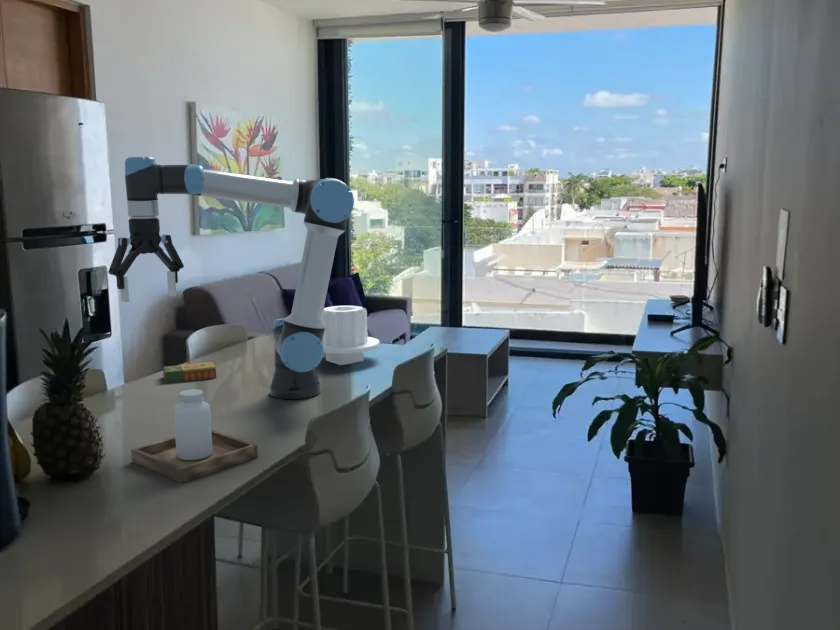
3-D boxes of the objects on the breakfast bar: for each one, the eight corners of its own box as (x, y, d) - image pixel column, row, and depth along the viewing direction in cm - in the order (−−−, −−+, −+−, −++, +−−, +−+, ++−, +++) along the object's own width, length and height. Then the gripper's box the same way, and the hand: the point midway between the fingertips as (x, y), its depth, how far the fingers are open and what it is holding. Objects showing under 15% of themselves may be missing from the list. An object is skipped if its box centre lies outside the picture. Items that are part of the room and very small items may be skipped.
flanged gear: (354, 350, 289) (353, 301, 286) (393, 361, 270) (393, 309, 266) (296, 360, 273) (294, 308, 270) (333, 372, 254) (332, 317, 251)
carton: (216, 379, 249) (215, 366, 248) (165, 384, 243) (164, 371, 242) (213, 373, 257) (212, 360, 256) (163, 378, 251) (162, 365, 250)
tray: (207, 439, 188) (206, 427, 188) (257, 457, 176) (257, 444, 175) (132, 461, 173) (131, 449, 173) (181, 483, 160) (180, 469, 160)
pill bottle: (199, 463, 169) (195, 398, 167) (169, 459, 172) (164, 395, 169) (219, 451, 177) (216, 388, 174) (190, 447, 179) (186, 386, 177)
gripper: (178, 215, 209) (183, 292, 213) (89, 219, 190) (96, 302, 194) (193, 216, 204) (198, 294, 208) (104, 219, 186) (111, 305, 189)
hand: (149, 298), depth 201 cm, fingers open, 13 cm apart
